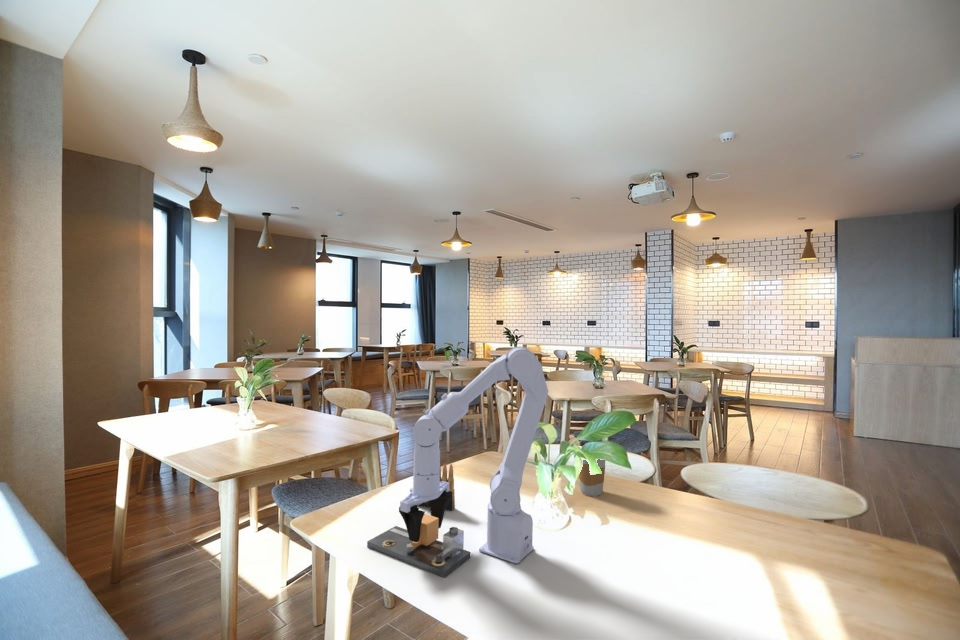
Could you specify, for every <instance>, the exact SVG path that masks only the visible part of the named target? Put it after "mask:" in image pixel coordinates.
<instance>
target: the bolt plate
mask: <svg viewBox="0 0 960 640" xmlns="http://www.w3.org/2000/svg"><path fill="white" fill-rule="evenodd" d="M464 532H465V531H464V530H463V529H460V528H459V527H456V526H452V527H449V531H448V532H446V533H444V534H443V535H442V541H440V540H438V539H437V540H435V541H434V542H432V543H431V544H429V545H427V546H426V545H423V544H420V545H419V546H417V547H416V548H414V551H407V544H410V543H412V542H413V541H411V540H409V535H408V531H407V528H403V527H400V526H397V525H395V526H393V527H391V528H389V529H388V530H385V531H384V532H382V533H379V535H377V536H374V537H373V538H370V539H369V540H368V541H367V543H366V544H367V545H366V547H367V548H369V549H371V548H372V550H373V551H376V552H379V553H382V554H384V555H387V556H389V557H391V558H395V559H396V558H397V560H398V561H401V560H402V561H401V562H404V563H406V562H407V563H406V564H409V565H411V566H414V567H416V568H419V569H422V570H424V571H426V572H429V573H431V574H434V575H437V576H438V577H442V578H444V579H445V578H446V577H447V576H449V575H450V574H451V573H453V572H454V571H455V570H457V569H458V568H459V567H461V566H462V565H464V563H466V562H467V561H469V559H471V551H469V550H466V549H464V545H465V544H464V538H465V533H464Z"/></svg>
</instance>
